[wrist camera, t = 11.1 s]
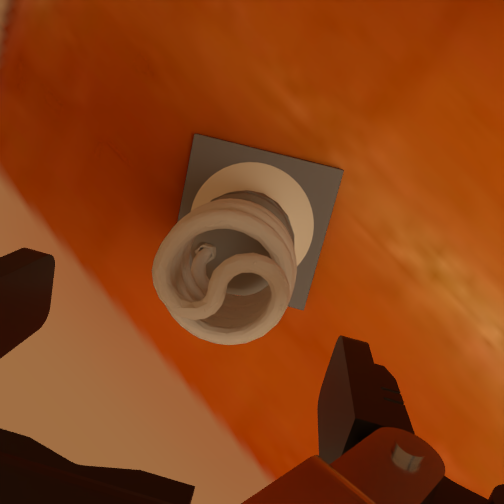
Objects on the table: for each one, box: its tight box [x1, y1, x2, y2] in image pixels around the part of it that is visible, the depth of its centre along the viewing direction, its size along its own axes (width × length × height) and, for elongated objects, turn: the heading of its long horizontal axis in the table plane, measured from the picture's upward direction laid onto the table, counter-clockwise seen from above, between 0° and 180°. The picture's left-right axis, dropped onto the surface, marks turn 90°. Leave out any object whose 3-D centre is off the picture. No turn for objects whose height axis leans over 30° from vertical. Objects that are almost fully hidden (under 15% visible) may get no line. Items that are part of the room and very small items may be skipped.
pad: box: [178, 134, 344, 310], centre depth 28 cm, size 9×9×1 cm
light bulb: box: [152, 190, 297, 345], centre depth 21 cm, size 6×6×12 cm
